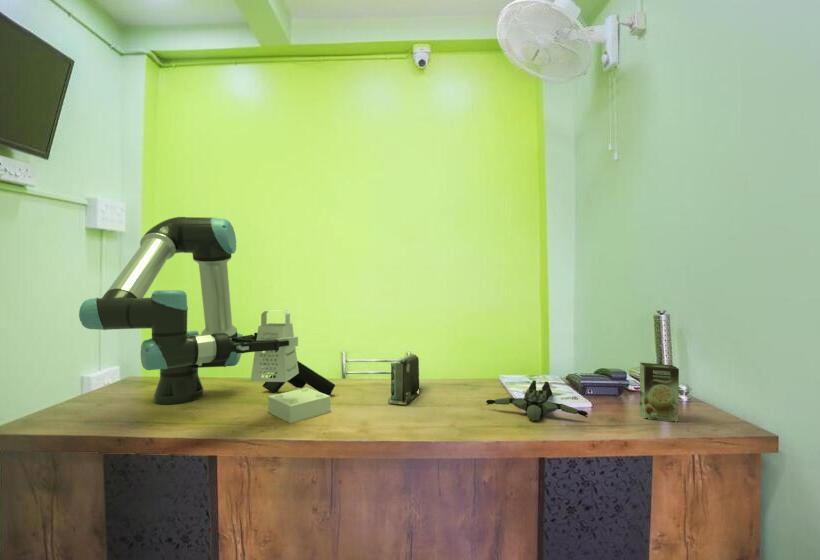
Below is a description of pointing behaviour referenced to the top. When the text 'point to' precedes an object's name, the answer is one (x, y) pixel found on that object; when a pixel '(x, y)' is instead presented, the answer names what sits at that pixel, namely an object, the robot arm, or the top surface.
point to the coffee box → (659, 391)
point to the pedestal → (298, 404)
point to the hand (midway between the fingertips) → (288, 339)
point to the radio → (404, 380)
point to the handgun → (303, 381)
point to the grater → (272, 360)
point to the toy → (537, 402)
